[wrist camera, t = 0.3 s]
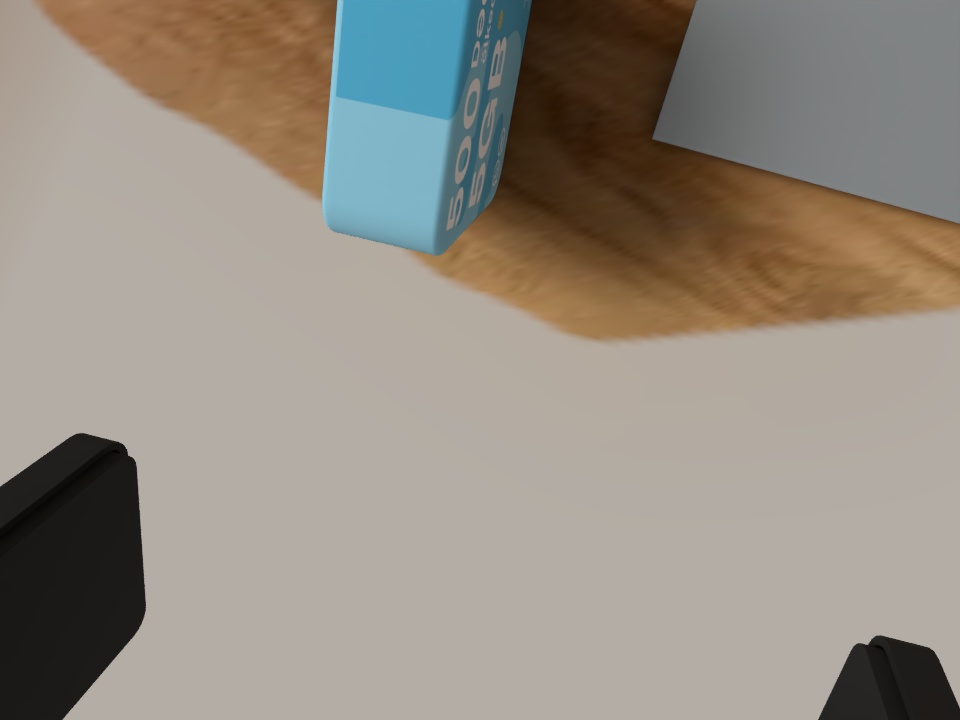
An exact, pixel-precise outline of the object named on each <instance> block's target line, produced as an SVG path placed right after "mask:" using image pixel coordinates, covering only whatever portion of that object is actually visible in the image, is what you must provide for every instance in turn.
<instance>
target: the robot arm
mask: <svg viewBox="0 0 960 720" xmlns="http://www.w3.org/2000/svg"><path fill="white" fill-rule="evenodd" d="M143 571H144V570H143V555H142V540H141V526H140V510H139V496H138V480H137V467H136V462H135V460H134V459H133V458H132V457H130V456H128V452H127V449H126V447H125V446H124V445H123V444H121V443H119V442H116V441H112V440H108V439H104V438H100V437H96V436H92V435H88V434H84V433H79V434H75V435H73V436H72V437H70V438H68V439H67V440H65V441H64V442H63V443H61V444H60V445H59V446H57V447H56V448H54V449H53V450H52V451H50V452H49V453H47V454H46V455H44V456H43V457H41V458H40V459H39V460H37V461H36V462H34V463H33V464H32V465H30V466H29V467H27V468H26V469H25V470H23V471H22V472H20V473H19V474H17V475H16V476H15V477H14V478H12V479H10V480H9V481H8V482H6V483H5V484H3V485H2V486H1V487H0V720H62V719H63V718H64V717H65V716H66V714H68V712H69V711H70V710H71V709H72V708H73V707H74V705H75V704H76V703H77V702H78V701H79V700H80V698H81V697H82V696H83V695H84V694H85V693H86V691H87V690H88V689H89V688H90V687H91V686H92V684H93V683H94V682H95V681H96V680H97V678H98V677H99V676H100V675H101V674H102V673H103V671H104V670H105V669H106V668H107V667H108V666H109V664H110V663H111V662H112V661H113V660H114V659H115V657H116V656H117V655H118V654H119V653H120V652H121V650H122V649H123V648H124V647H125V646H126V645H127V643H128V642H129V641H130V640H131V639H132V638H133V636H134V635H135V634H136V632H137V631H138V629H139V627H140V625H141V624H142V621H143V618H144V615H145V611H146V609H145V608H146V601H145V585H144V572H143ZM818 720H960V708H959V705H958V703H957V701H956V698H955V696H954V694H953V691H952V689H951V687H950V685H949V682H948V680H947V677H946V675H945V673H944V670H943V668H942V666H941V664H940V661H939V659H938V657H937V655H936V654H935V652H934V651H933V650H931V649H930V648H928V647H924V646H920V645H916V644H913V643H909V642H904V641H900V640H896V639H893V638H889V637H885V636H875V637H874V638H873V639H872V640H871V641H870V643H869V644H868V645H865V644H861V643H858V644H856V645H855V646H854V647H853V649H852V650H851V652H850V654H849V656H848V658H847V660H846V662H845V664H844V667H843V669H842V671H841V673H840V675H839V677H838V679H837V681H836V683H835V685H834V688H833V690H832V692H831V694H830V696H829V698H828V700H827V702H826V705H825V706H824V708H823V711H822V713H821V715H820V717H819V719H818Z"/></svg>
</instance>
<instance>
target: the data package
mask: <svg viewBox="0 0 960 720" xmlns="http://www.w3.org/2000/svg"><path fill="white" fill-rule="evenodd" d="M531 3H532V0H338V2H337V15H336V28H335V41H334V54H333V67H332V80H331V92H330V105H329V118H328V131H327V144H326V157H325V170H324V182H323V196H322V208H323V216H324V219H325V222H326V224H327V226H328V227H329V228H330V229H331V230H332V231H334V232H337V233H342V234H346V235H350V236H354V237H359V238H363V239H367V240H372V241H376V242H381V243H384V244H389V245H393V246H397V247H402V248H406V249H410V250H414V251H419V252H423V253H427V254H432V255H436V256H438V255H441V254H443V253H444V252H445V251H446V250H447V249H448V248H449V247H450V246H451V245H452V243H453V242H454V241H455V240H456V239H457V238H458V237H459V236H460V235H461V234H462V233H463V232H464V231H465V230H466V228H467V227H468V226H469V225H470V224H471V223H472V222H473V221H474V220H475V219H476V218H477V217H478V216H479V214H480V213H481V212H482V211H483V210H484V209H485V208H486V207H487V206H488V205H489V204H490V203H491V201H492V200H493V198H494V195H495V193H496V190H497V187H498V183H499V179H500V175H501V171H502V165H503V160H504V154H505V149H506V143H507V137H508V132H509V126H510V121H511V115H512V109H513V104H514V98H515V93H516V87H517V81H518V76H519V70H520V65H521V59H522V53H523V48H524V42H525V37H526V31H527V25H528V20H529V14H530V9H531Z"/></svg>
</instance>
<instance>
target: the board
mask: <svg viewBox="0 0 960 720" xmlns="http://www.w3.org/2000/svg"><path fill="white" fill-rule="evenodd" d="M652 139H654V140H657V141H661V142H665V143H668V144H672V145H676V146H679V147H683V148H686V149H690V150H694V151H697V152H701V153H705V154H708V155H712V156H716V157H719V158H723V159H727V160H730V161H734V162H737V163H741V164H745V165H748V166H752V167H756V168H759V169H763V170H767V171H770V172H774V173H777V174H781V175H785V176H788V177H792V178H796V179H799V180H803V181H807V182H810V183H814V184H818V185H821V186H825V187H828V188H832V189H836V190H839V191H843V192H847V193H850V194H854V195H858V196H861V197H865V198H869V199H872V200H876V201H879V202H883V203H887V204H890V205H894V206H898V207H901V208H905V209H909V210H912V211H916V212H920V213H923V214H927V215H930V216H934V217H938V218H941V219H945V220H949V221H952V222H956V223H960V0H696V3H695V6H694V10H693V13H692V16H691V19H690V22H689V25H688V28H687V31H686V34H685V37H684V40H683V43H682V46H681V50H680V53H679V56H678V59H677V62H676V65H675V68H674V71H673V74H672V77H671V80H670V83H669V87H668V90H667V93H666V96H665V99H664V102H663V105H662V108H661V111H660V114H659V117H658V120H657V123H656V127H655V130H654V133H653V136H652Z"/></svg>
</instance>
